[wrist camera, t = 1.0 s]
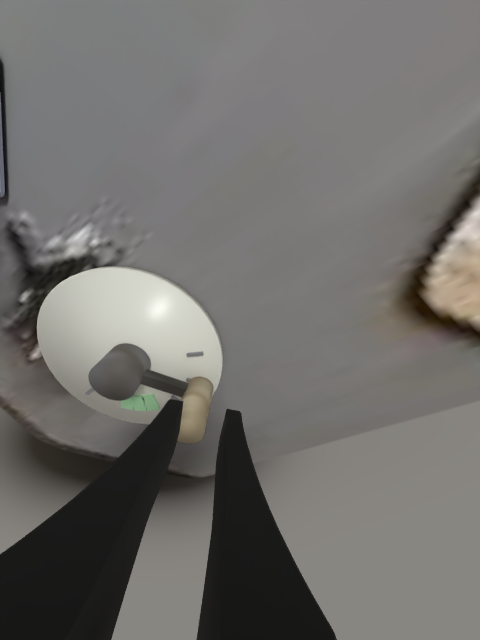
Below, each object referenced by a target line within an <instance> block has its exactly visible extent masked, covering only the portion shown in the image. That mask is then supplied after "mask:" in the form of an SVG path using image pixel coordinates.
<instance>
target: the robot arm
mask: <svg viewBox="0 0 480 640" xmlns="http://www.w3.org/2000/svg"><path fill="white" fill-rule="evenodd" d="M4 194H5V185H4V162H3V140H2V117H1V94H0V197H3V196H4ZM182 409H183V401H179V400H174V399H170V400H168V401H167V403H166V404H165V405H164V407H163V408H162V409H161V411H160V412H159V413H158V415H157V416H156V417H155V418H154V420H153V421H152V422H151V423H150V424H149V425H148V427H147V428H146V429H145V430H144V431H143V432H142V433H141V435H140V436H139V437H138V438H137V439H136V440H135V441H134V442H133V443H132V444H131V445H130V446H129V447H128V448H127V449H126V450H125V451H124V453H123V454H122V455H121V456H120V457H119V458H118V459H117V460H116V461H115V462H113V463H112V464H111V465H110V466H109V467H108V468H107V469H106V470H105V471H104V472H103V473H102V474H101V475H100V476H98V477H97V478H96V479H95V480H94V481H93V482H92V483H91V484H89V485H88V486H87V487H86V488H85V489H84V490H82V491H81V492H80V493H79V494H78V495H77V496H76V497H74V498H73V499H72V500H71V501H70V502H68V503H67V504H66V505H65V506H63V507H62V508H61V509H60V510H58V511H57V512H56V513H55V514H53V515H52V516H51V517H49V518H48V519H47V520H46V521H44V522H43V523H42V524H40V525H39V526H38V527H37V528H35V529H34V530H33V531H31V532H30V533H29V534H28V535H26V536H25V537H23V538H22V539H21V540H19V541H18V542H17V543H15V544H14V545H13V546H11V547H10V548H8V549H7V550H6V551H4V552H3V553H2V554H0V640H111V638H112V635H113V631H114V628H115V625H116V621H117V618H118V615H119V611H120V608H121V605H122V601H123V598H124V594H125V591H126V588H127V584H128V581H129V578H130V575H131V571H132V568H133V565H134V562H135V559H136V555H137V552H138V549H139V546H140V542H141V539H142V536H143V533H144V530H145V526H146V523H147V521H148V518H149V515H150V512H151V509H152V507H153V504H154V502H155V499H156V496H157V494H158V492H159V489H160V486H161V484H162V481H163V479H164V476H165V474H166V471H167V469H168V466H169V463H170V461H171V458H172V456H173V453H174V449H175V446H176V442H177V439H178V435H179V432H180V425H181V417H182ZM197 640H337V639H336V636H335V633H334V631H333V629H332V628H331V626H330V624H329V622H328V621H327V619H326V617H325V616H324V614H323V612H322V610H321V609H320V607H319V605H318V604H317V602H316V600H315V598H314V597H313V595H312V593H311V591H310V589H309V588H308V586H307V584H306V582H305V580H304V578H303V576H302V574H301V573H300V571H299V569H298V567H297V565H296V563H295V561H294V559H293V557H292V555H291V553H290V551H289V549H288V547H287V545H286V543H285V541H284V539H283V537H282V535H281V533H280V531H279V529H278V527H277V525H276V522H275V520H274V517H273V515H272V513H271V511H270V509H269V506H268V503H267V501H266V499H265V496H264V494H263V491H262V488H261V486H260V483H259V480H258V477H257V474H256V472H255V469H254V465H253V462H252V459H251V456H250V452H249V449H248V445H247V441H246V437H245V433H244V428H243V423H242V416H241V413H240V411H235V410H230V409H227V410H226V415H225V419H224V423H223V427H222V431H221V435H220V440H219V447H218V453H217V460H216V474H215V490H214V506H213V521H212V532H211V540H210V548H209V555H208V562H207V570H206V577H205V584H204V592H203V599H202V606H201V614H200V621H199V627H198V634H197Z"/></svg>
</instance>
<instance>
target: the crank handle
mask: <svg viewBox="0 0 480 640" xmlns="http://www.w3.org/2000/svg"><path fill="white" fill-rule="evenodd" d="M150 368H151V361H150V358H149V356H148V355H147V353H146V352H145V351H144V350H143V349H141V348H140V347H138V346H136V345H133V344H128V343H123V344H118V345H116V346H115V347H113V348H112V349H111V350H110V351H109V352H108V353H107V354H106V355H105V356H104V357H103V358H102V359H101V360H100V361H99V362H98V363H97V364H96V365H95V366H94V367H93V368H92V369H91V370H90V372H89V375H88V378H89V383H90V385H91V386H92V388H93V389H94V390H95V391H96V392H97V393H98V394H100V395H101V396H103V397H105V398H107V399H110V400H115V401H122V400H126V399H129V398H131V397H132V396H133V395H134V393H135V392H136V390H137V389H138V387H139V386H140V384H142V385H145V386H148V387H151V388H154V389H157V390H160V391H163V392H166V393H169V394H172V395H175V396H179V397H182V399H181V401H183V409H182V417H181V425H180V432H179V435H178V439H177V440H178V441H180V442H183V443H188V444H192V443H197V442H199V441H200V440H202V438H203V437H204V433H205V428H206V423H207V418H208V413H209V409H210V404H211V399H212V394H213V389H214V387H213V384H212V382H211V381H210V380H208V379H207V378H204V377H194V378H191V379H190V380H189V381H188V383H187V382H184V381H181V380H178V379H175V378H172V377H169V376H166V375H163V374H160V373H157V372H154V371H151V370H150Z"/></svg>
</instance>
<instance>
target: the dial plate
mask: <svg viewBox="0 0 480 640" xmlns="http://www.w3.org/2000/svg"><path fill="white" fill-rule="evenodd" d="M37 337H38V342H39V347H40V350H41V353H42V355H43V358H44V360H45V362H46V364H47V366H48V368H49V369H50V371H51V372H52V373H53V375H54V376H55V378H56V379H57V380H58V381H59V382H60V384H61V385H62V386H63V387H64V388H65V389H66V390H67V391H68V392H69V393H71V394H72V395H73V396H74V397H76V398H77V399H78V400H79V401H81V402H82V403H84V404H85V405H87V406H89V407H90V408H92V409H94V410H96V411H98V412H100V413H102V414H104V415H107V416H109V417H112V418H115V419H118V420H122V421H126V422H131V423H137V424H150V423H151V422H152V421H153V420H154V418H155V417H156V416H157V415H158V413H159V412H160V411H161V409H162V408H163V407H164V405H165V404H166V403H167V401H168V400H170V399H174V400H179V401H181V399H182V397H179V396H175V395H172V394H169V393H166V392H163V391H160V390H157V389H154V388H151V387H148V386H145V385H142V384H140V386H139V387H138V389H137V390H136V392H135V393H134V395H133V396H132V397H131V398H129V399H126V400H122V401H115V400H110V399H107V398H105V397H103V396H101V395H100V394H98V393H97V392H96V391H95V390H94V389H93V388H92V386H91V385H90V383H89V378H88V375H89V372H90V370H91V369H92V368H93V367H94V366H95V365H96V364H97V363H98V362H99V361H100V360H101V359H102V358H103V357H104V356H105V355H106V354H107V353H108V352H109V351H110V350H111V349H112V348H113V347H115V346H116V345H118V344H123V343H128V344H133V345H136V346H138V347H140V348H141V349H143V350H144V351H145V352H146V353H147V355H148V356H149V358H150V361H151V368H150V370H151V371H154V372H157V373H160V374H163V375H166V376H169V377H172V378H175V379H178V380H181V381H184V382H187V383H188V381H189V380H190V379H191V378H194V377H204V378H207V379H208V380H210V381H211V382H212V384H213V387H214V389H213V394H214V392H215V391H216V389H217V387H218V384H219V381H220V377H221V372H222V366H223V350H222V343H221V340H220V336H219V333H218V331H217V329H216V326H215V324H214V323H213V321H212V319H211V318H210V316H209V314H208V313H207V312H206V310H205V309H204V308H203V307H202V305H201V304H200V303H199V302H198V301H197V300H196V299H195V298H194V297H193V296H192V295H190V294H189V293H188V292H187V291H185V290H184V289H183V288H182V287H180V286H178V285H177V284H175V283H174V282H172V281H170V280H169V279H166V278H164V277H162V276H160V275H158V274H155V273H152V272H149V271H146V270H143V269H138V268H133V267H126V266H106V267H99V268H94V269H90V270H87V271H84V272H81V273H79V274H76V275H73V276H71V277H69V278H67V279H66V280H64V281H62V282H61V283H59V284H58V285H57V286H56V287H55V288H54V289H53V290H52V291H51V292H50V293H49V294H48V296H47V297H46V298H45V300H44V302H43V304H42V306H41V308H40V312H39V315H38V321H37ZM213 394H212V396H213Z"/></svg>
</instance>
